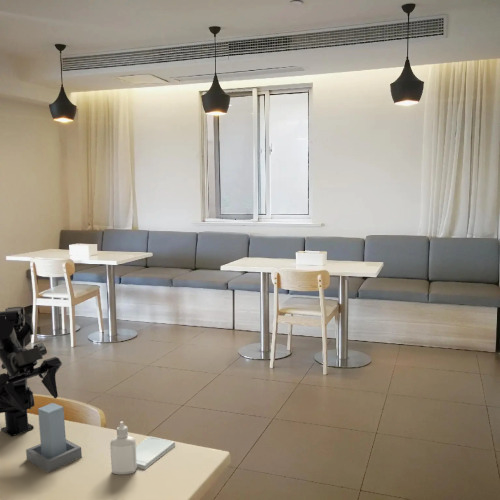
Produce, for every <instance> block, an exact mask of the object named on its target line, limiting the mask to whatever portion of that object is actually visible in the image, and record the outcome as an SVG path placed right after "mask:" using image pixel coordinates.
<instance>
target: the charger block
mask: <svg viewBox="0 0 500 500" xmlns="http://www.w3.org/2000/svg"><path fill="white" fill-rule="evenodd" d="M37 413H38V426H39V437H40V444H41V453H42V456H44V457H46V458H47V459H51V458H53V457H55V456H57V455H60V454H62V453H64V452H66V451H67V448H66V439H67V437H66V425H65V423H66V422H65V410H64V406H62V405H60V404H58V403H57V404H56V403H54V402H51V403H48V404H46V405H44V406H41V407H39V408H37Z"/></svg>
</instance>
